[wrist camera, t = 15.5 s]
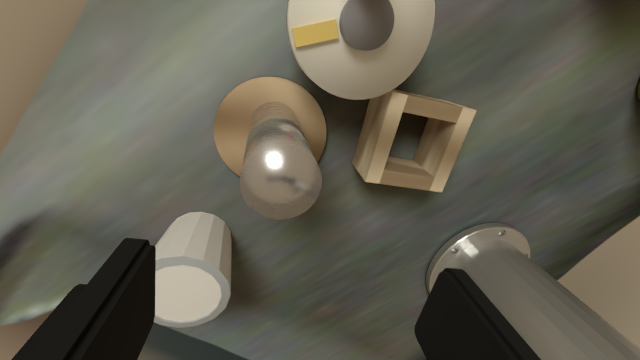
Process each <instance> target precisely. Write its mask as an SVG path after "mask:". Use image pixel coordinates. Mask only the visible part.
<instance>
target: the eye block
mask: <svg viewBox="0 0 640 360" xmlns="http://www.w3.org/2000/svg"><path fill="white" fill-rule="evenodd" d="M476 111H477V110H474V109H471V108H467V107H464V106H461V105H458V104H455V103H452V102H449V101H445V100H441V99H436V98H432V97H427V96H423V95H418V94H414V93H409V92H405V91H400V90H396V89H393V90H391V91H389V92H387V93H385V94H383V95H381V96H378V97H375V98H370V100H369V104H368V107H367V111H366V115H365V118H364V122H363V125H362V129H361V133H360V136H359V140H358V143H357V147H356V151H355V154H354V158H353V161H352V164H353V165H354V167H355V168H356V170H357V171H358V172H359V174H360V175H361V176H362V178H363V179H364V181H365V182H370V183H378V184H385V185H392V186H399V187H407V188H414V189H421V190H429V191H436V192H442V191H443V189H444V186H445V184H446V182H447V179H448V177H449V174H450V172H451V170H452V167H453V165H454V163H455V160H456V158H457V156H458V153H459V151H460V148H461V146H462V144H463V141H464V139H465V137H466V134H467V132H468V129H469V127H470V125H471V122H472V120H473V118H474V115H475V113H476ZM402 112H405V113H410V114H415V115H420V116H425V117H428V120H427V123H426V125H425V128H424V131H423V134H422V136H421V139H420V142H419V145H418V147H417V150H416V153H415V156H414V159H413V160H408V159H402V158H396V157H390V156H388V155H389V152H390V149H391V146H392V143H393V140H394V137H395V134H396V131H397V128H398V125H399V122H400V119H401V116H402Z"/></svg>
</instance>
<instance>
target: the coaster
mask: <svg viewBox="0 0 640 360" xmlns="http://www.w3.org/2000/svg"><path fill="white" fill-rule="evenodd" d="M267 102H281V103H284V104H286V105H287V106H289V107H290V108H291V109H292V110H293V111H294V113H295V114H296V116H297V118H298V121H299V123H300V125H301V128H302V130H303V132H304V134H305V137H306V139H307V141H308V144H309V146H310V148H311V151H312V153H313V155H314V157H315V160H316V162H318V160H319V159H320V157H321V155H322V153H323V150H324V147H325V143H326V134H327V130H326V122H325V118H324V115H323V113H322V110H321V108H320V106H319V105H318V103H317V102H316V100H315V99H314V98H313V97H312V95H311V94H310V93H309V92H308V91H306V90H305V89H304V88H303V87H301V86H300V85H298V84H296V83H294V82H292V81H290V80H287V79H284V78H279V77H258V78H254V79H251V80H248V81H246V82H243V83H242V84H240V85H238V86H237V87H236V88H234V89H233V90H232V91H231V92H230V93H229V94H228V95H227V96H226V97H225V99H224V100H223V102H222V103H221V105H220V107H219V109H218V111H217V114H216V117H215V122H214V138H215V143H216V147H217V150H218V152H219V154H220V156H221V158H222V159H223V161H224V162H225V163H226V165H227V166H228V167H229V168H230V169H231V170H232V171H233V172H234V173H236V174H237V175H238V176H240V175H241V170H242V165H243V159H244V154H245V149H246V144H247V138H248V133H249V128H250V122H251V118H252V115H253V113H254V112H255V110H256V109H257V108H258V107H259V106H261V105H262V104H265V103H267Z"/></svg>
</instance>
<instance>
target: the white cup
mask: <svg viewBox="0 0 640 360" xmlns="http://www.w3.org/2000/svg"><path fill="white" fill-rule="evenodd" d="M231 241H232V240H231V232H230V229H229V228H228V226H227V225H226V223H225V222H224V221H223V220H221V219H220V218H218V217H217V216H215V215H212V214H208V213H204V212H193V213H187V214H185V215H183V216H180V217H178V218H177V219H176V220H175V221H174V222H173V223H172V224H171V225H170V227H169V228H168V229H167V231H166V232H165V233H164V235H163V236H162V238H161V239H160V240H159V242H158V243H157V244H156V246H155V248H156V271H155V318H154V322H155V323H158V324H160V325H164V326H171V327H179V328H182V327H190V326H198V325H201V324H203V323H205V322H208V321H210V320H212V319H214V318H215V317H217V316H218V315H219V314H220V313H221V312H222V311H223V310H224V309H225V308H226V306H227V303H228V301H229V298H230V296H231Z"/></svg>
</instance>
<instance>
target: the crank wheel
mask: <svg viewBox="0 0 640 360" xmlns="http://www.w3.org/2000/svg"><path fill="white" fill-rule="evenodd" d="M434 17H435V2H434V0H288V5H287V16H286V22H287V33H288V39H289V43H290V47H291V50H292V52H293V55H294V57H295V59H296V61H297V63H298V64H299V66H300V68H301V69H302V70H303V72H304V73H305V74H306V75H307V76H308V77H309V78H310V79H311V80H312V81H313V82H314V83H315V84H317V85H318V86H319V87H321V88H322V89H323V90H325V91H327V92H328V93H330V94H333V95H335V96H338V97H341V98H345V99H352V100H364V99H370V98H375V97H378V96H381V95H383V94H385V93H387V92H389V91H391V90H393V89H394V88H396V87H397V86H399V85H400V84H401V83H402V82H404V81H405V80H406V79H407V78H408V77H409V76H410V75H411V73H412V72H413V71H414V70H415V68H416V67H417V66H418V64H419V62H420V61H421V59H422V58H423V56H424V53H425V51H426V49H427V47H428V44H429V41H430V38H431V34H432V31H433V25H434Z"/></svg>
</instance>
